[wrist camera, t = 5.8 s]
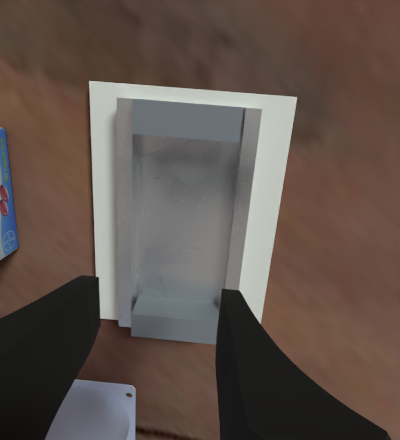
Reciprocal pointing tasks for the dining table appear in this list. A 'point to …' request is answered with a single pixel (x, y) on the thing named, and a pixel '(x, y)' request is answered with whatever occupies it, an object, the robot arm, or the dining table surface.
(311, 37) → the dining table surface
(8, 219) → the medicine box
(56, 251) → the dining table surface
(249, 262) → the white flat tray
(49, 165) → the dining table surface
